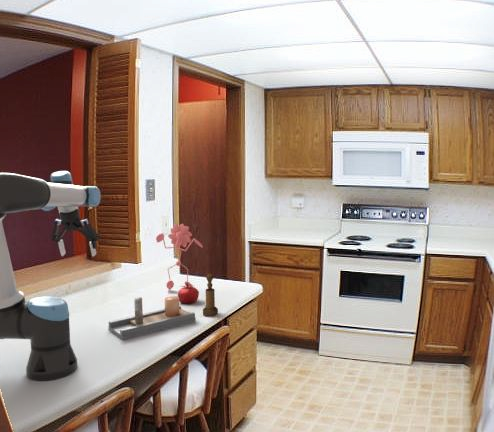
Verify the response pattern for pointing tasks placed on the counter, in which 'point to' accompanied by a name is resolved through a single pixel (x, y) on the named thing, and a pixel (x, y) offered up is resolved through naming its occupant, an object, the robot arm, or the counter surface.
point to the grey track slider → (143, 320)
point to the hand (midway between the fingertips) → (78, 254)
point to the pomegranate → (188, 294)
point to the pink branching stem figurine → (178, 245)
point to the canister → (172, 306)
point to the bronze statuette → (210, 299)
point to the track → (147, 324)
